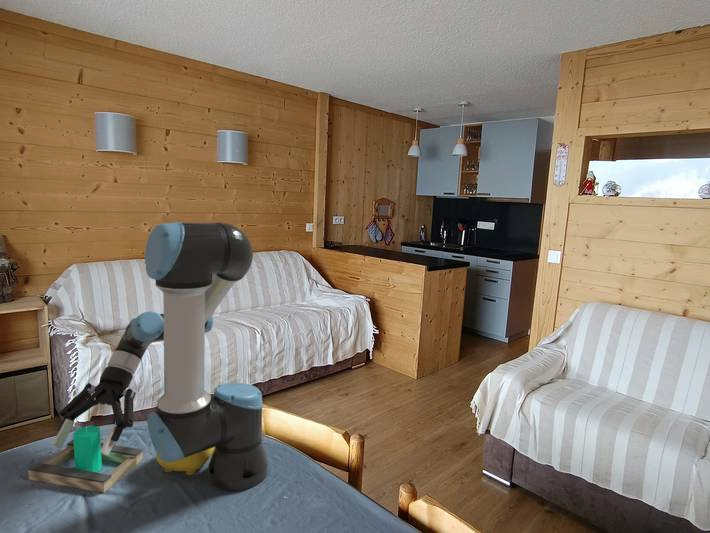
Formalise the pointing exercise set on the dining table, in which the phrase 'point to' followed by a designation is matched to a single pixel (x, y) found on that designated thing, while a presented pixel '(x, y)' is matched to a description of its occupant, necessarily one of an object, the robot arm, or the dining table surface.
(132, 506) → the dining table surface
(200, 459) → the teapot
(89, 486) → the rectangular wooden frame
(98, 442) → the candle
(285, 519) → the dining table surface
